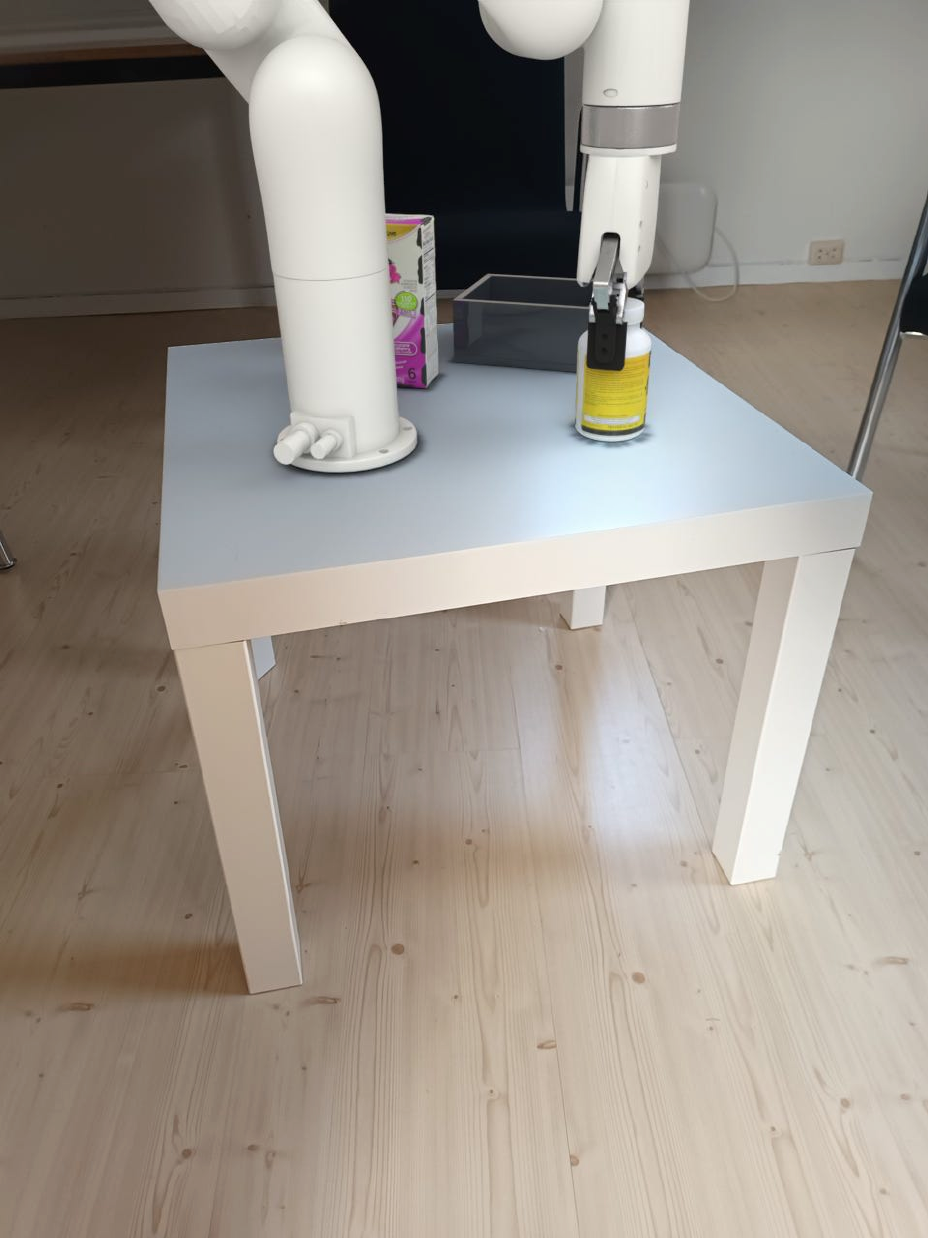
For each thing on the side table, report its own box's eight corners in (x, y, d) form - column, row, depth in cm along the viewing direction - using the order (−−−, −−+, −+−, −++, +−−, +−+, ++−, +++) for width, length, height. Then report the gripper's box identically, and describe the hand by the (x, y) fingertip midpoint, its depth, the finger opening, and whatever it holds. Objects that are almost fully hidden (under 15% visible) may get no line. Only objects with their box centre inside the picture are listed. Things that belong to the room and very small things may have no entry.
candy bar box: (327, 384, 99) (310, 219, 90) (344, 369, 103) (329, 210, 94) (428, 390, 96) (420, 221, 87) (441, 375, 100) (435, 212, 91)
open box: (590, 373, 100) (593, 309, 96) (454, 361, 104) (452, 299, 100) (612, 340, 110) (616, 280, 106) (487, 330, 114) (487, 273, 110)
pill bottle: (649, 444, 83) (661, 312, 77) (576, 444, 83) (583, 313, 77) (639, 417, 88) (649, 292, 82) (571, 418, 89) (576, 294, 82)
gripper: (604, 119, 80) (593, 325, 90) (555, 142, 66) (548, 382, 76) (691, 119, 78) (671, 330, 88) (660, 143, 64) (639, 390, 74)
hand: (614, 353), depth 82 cm, fingers open, 7 cm apart
